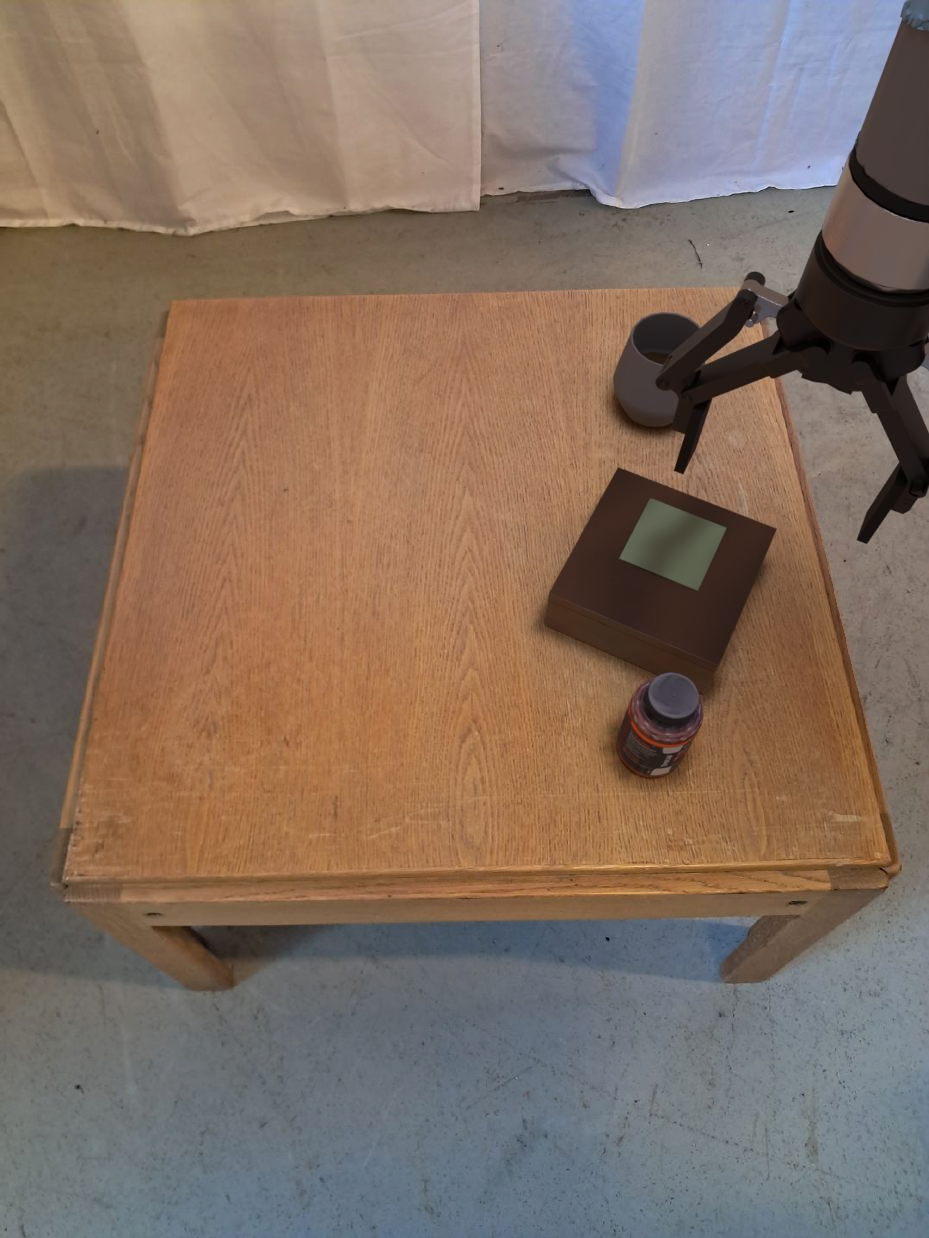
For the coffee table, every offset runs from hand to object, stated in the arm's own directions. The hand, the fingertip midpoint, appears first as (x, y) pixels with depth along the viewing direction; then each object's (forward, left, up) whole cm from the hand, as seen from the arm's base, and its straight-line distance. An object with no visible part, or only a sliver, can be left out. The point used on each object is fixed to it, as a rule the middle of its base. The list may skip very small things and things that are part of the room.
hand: (773, 493), depth 66 cm
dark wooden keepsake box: (+6, -2, -23) cm, 24 cm away
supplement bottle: (+1, +13, -23) cm, 26 cm away
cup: (+15, -24, -23) cm, 37 cm away
